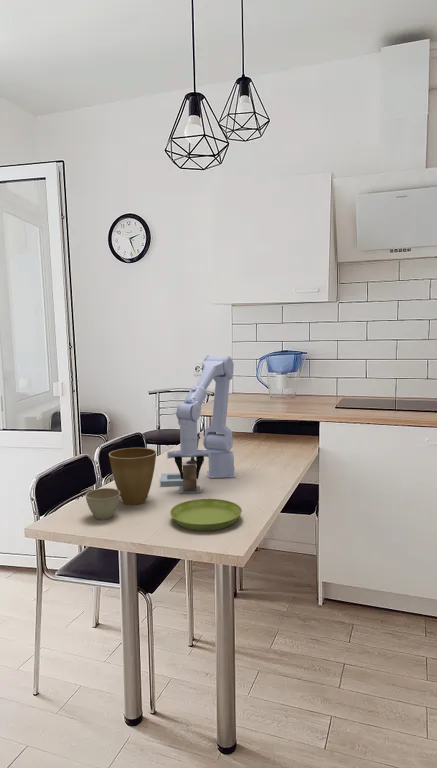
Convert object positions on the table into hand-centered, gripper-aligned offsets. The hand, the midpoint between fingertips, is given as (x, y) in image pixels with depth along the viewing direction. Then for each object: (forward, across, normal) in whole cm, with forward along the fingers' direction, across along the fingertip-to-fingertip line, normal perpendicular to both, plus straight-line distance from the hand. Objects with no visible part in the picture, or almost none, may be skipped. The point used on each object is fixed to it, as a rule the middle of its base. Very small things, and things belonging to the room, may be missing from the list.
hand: (189, 478), depth 189 cm
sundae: (+4, +2, +36) cm, 36 cm away
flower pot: (+4, -26, -22) cm, 34 cm away
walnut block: (+3, 0, 0) cm, 3 cm away
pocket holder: (+4, -5, +10) cm, 12 cm away
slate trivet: (+4, 0, 0) cm, 4 cm away
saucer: (+5, +4, -28) cm, 29 cm away
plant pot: (+4, -18, -9) cm, 21 cm away
